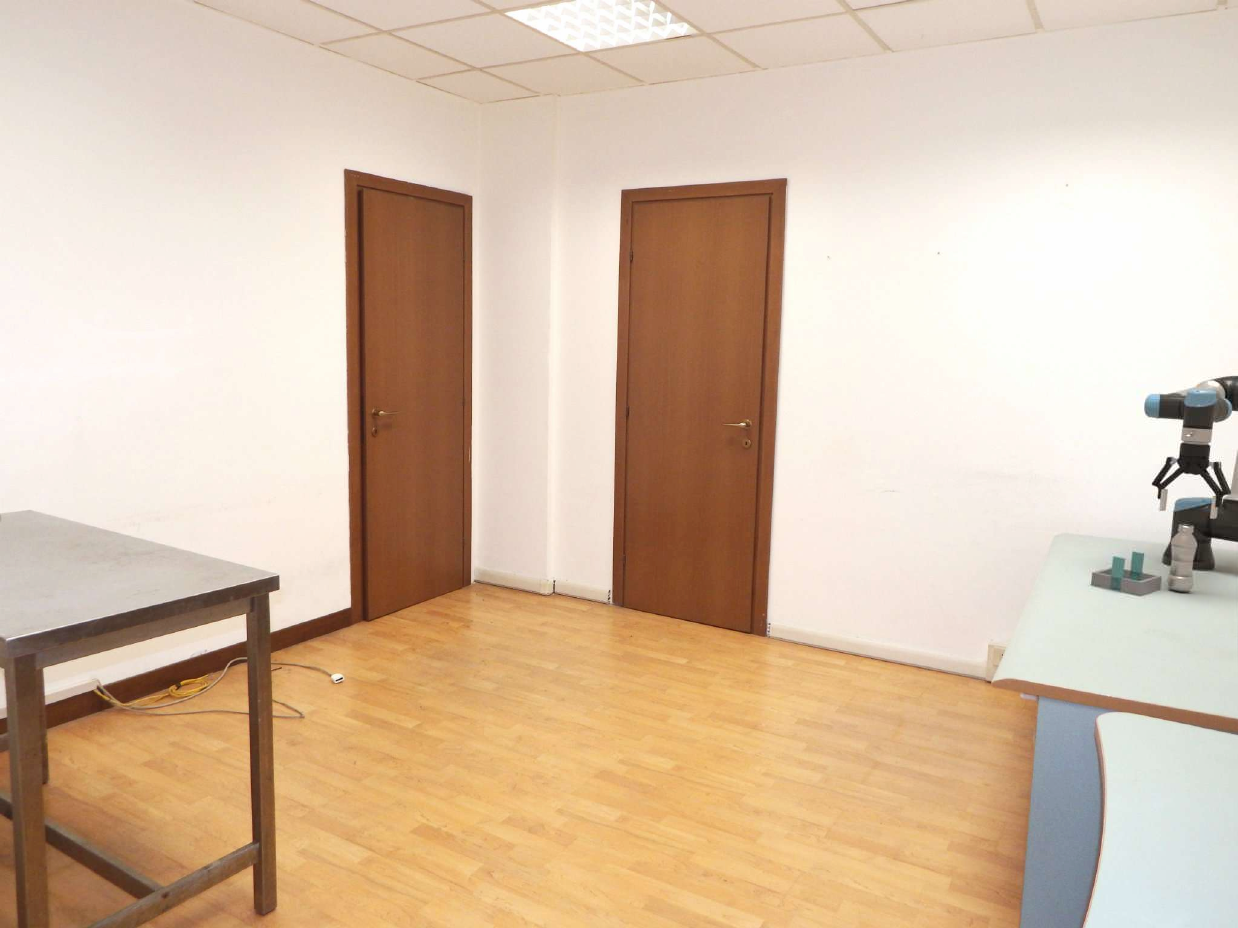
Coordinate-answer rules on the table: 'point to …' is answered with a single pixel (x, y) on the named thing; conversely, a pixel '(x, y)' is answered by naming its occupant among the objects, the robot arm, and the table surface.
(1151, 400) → the robot arm
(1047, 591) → the table surface
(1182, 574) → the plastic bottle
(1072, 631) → the table surface
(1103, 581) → the tray
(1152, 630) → the table surface
